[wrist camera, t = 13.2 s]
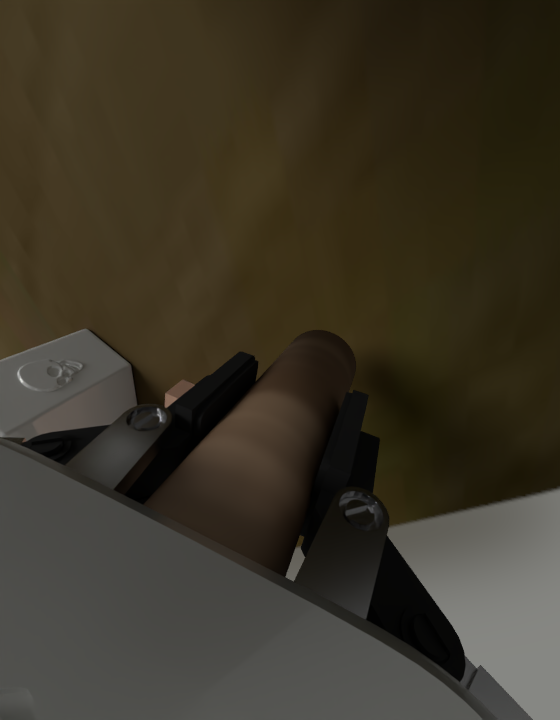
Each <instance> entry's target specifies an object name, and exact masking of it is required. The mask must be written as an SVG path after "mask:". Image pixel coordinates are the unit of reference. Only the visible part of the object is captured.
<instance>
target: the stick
mask: <svg viewBox="0 0 560 720" xmlns="http://www.w3.org/2000/svg"><path fill="white" fill-rule="evenodd" d="M355 371H356V361H355V357H354V354H353V352H352V350H351V348H350V347H349V345H348V344H347V343H346V342H345V341H344V340H343V339H342V338H340V337H339V336H337V335H335V334H333V333H331V332H328V331H323V330H313V331H308V332H305V333H303V334H301V335H299V336H298V337H297V338H296V339H295V340H294V341H293V342H292V343H291V344H290V345H289V346H288V347H287V348H286V349H285V350H284V352H283V353H282V354H281V355H280V356H279V357H278V358H277V359H276V360H275V361H274V362H273V364H272V365H271V366H270V367H269V368H268V369H267V370H266V371H265V372H264V373H263V374H262V376H261V377H260V378H259V379H258V380H257V381H256V382H255V383H254V384H253V385H252V386H251V388H250V389H249V390H248V391H247V392H246V393H245V394H244V395H243V396H242V397H241V398H240V400H239V401H238V402H237V403H236V404H235V405H234V406H233V407H232V408H231V409H230V410H229V411H228V413H227V414H226V415H225V416H224V417H223V418H222V419H221V420H220V421H219V422H218V423H217V425H216V426H215V427H214V428H213V429H212V430H211V431H210V432H209V433H208V434H207V435H206V437H205V438H204V439H203V440H202V441H201V442H200V443H199V444H198V445H197V446H196V447H195V449H194V450H193V451H192V452H191V453H190V454H189V455H188V456H187V457H186V458H185V459H184V460H183V462H182V463H181V464H180V465H179V466H178V467H177V468H176V469H175V470H174V471H173V472H172V474H171V475H170V476H169V477H168V478H167V479H166V480H165V481H164V482H163V483H162V484H161V486H160V487H159V488H158V489H157V490H156V491H155V492H154V493H153V494H152V495H151V496H150V498H149V499H148V500H147V501H146V502H145V503H144V504H143V505H144V506H146V507H148V508H150V509H152V510H154V511H156V512H158V513H160V514H162V515H164V516H166V517H168V518H170V519H172V520H174V521H176V522H178V523H180V524H182V525H184V526H186V527H188V528H190V529H192V530H194V531H196V532H198V533H200V534H202V535H204V536H206V537H207V538H209V539H211V540H213V541H215V542H217V543H219V544H221V545H223V546H225V547H227V548H229V549H231V550H233V551H235V552H237V553H239V554H241V555H243V556H245V557H247V558H249V559H251V560H252V561H254V562H256V563H258V564H260V565H262V566H264V567H266V568H268V569H270V570H272V571H274V572H276V573H278V574H280V575H282V576H284V577H285V576H286V573H287V570H288V568H289V565H290V562H291V559H292V556H293V553H294V550H295V547H296V544H297V541H298V538H299V536H300V533H301V530H302V527H303V524H304V521H305V518H306V515H307V512H308V509H309V506H310V502H311V492H312V489H313V486H314V483H315V480H316V477H317V474H318V471H319V468H320V465H321V462H322V459H323V456H324V453H325V450H326V448H327V445H328V442H329V439H330V436H331V434H332V431H333V428H334V425H335V422H336V420H337V417H338V414H339V411H340V409H341V406H342V403H343V400H344V397H345V395H346V392H349V390H350V387H351V384H352V381H353V378H354V375H355Z"/></svg>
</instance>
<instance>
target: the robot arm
mask: <svg viewBox="0 0 560 720" xmlns="http://www.w3.org/2000/svg"><path fill="white" fill-rule="evenodd" d="M257 369H258V361H256V360H255V357H254V356H253V355H250V354H247V353H244V352H241V351H240V352H239V353H237V354H236V355H235V356H234V357H232V358H231V359H230V360H229V361H227V362H226V363H225V364H224V365H223V366H221V367H220V368H219V369H218V370H216V371H215V372H214V373H213V374H211V375H208V376H206V377H204V378H203V379H202V380H201V381H199V382H198V383H197V384H196V385H194V386H193V387H192V388H191V389H189V390H188V391H187V392H186V393H184V394H183V395H182V396H181V397H179V398H178V399H177V400H176V401H174V402H173V403H172V404H171V405H169V406H168V407H167V408H166V407H163V406H161V405H157V404H142V405H137V406H135V407H132V408H130V409H129V410H127V411H126V412H124V413H123V414H122V415H121V416H120V417H119V418H118V419H116V420H115V421H114V422H113V423H112V424H110V425H103V426H95V427H87V428H79V429H72V430H64V431H56V432H49V433H45V434H41V435H38V436H36V437H33V438H31V439H29V440H28V441H26V439H25V438H18V437H0V720H533V719H532V718H531V717H530V716H529V715H528V714H527V713H526V712H525V711H524V710H523V709H522V708H521V707H520V706H519V705H518V704H517V703H516V701H515V700H514V699H513V698H512V697H511V696H510V695H509V694H508V693H507V692H506V691H505V690H504V689H503V688H502V687H501V686H500V685H499V684H498V683H497V682H496V681H495V679H494V678H493V677H492V676H491V675H490V674H489V673H488V672H487V671H486V670H485V669H484V668H483V667H482V666H481V665H480V666H479V667H478V668H476V667H475V666H474V665H473V664H472V663H471V662H470V661H469V660H468V659H467V657H465V655H464V650H463V647H462V644H461V642H460V639H459V637H458V635H457V633H456V632H455V630H454V628H453V627H452V625H451V624H450V622H449V621H448V619H447V618H446V617H445V615H444V614H443V613H442V611H441V610H440V609H439V607H438V606H437V605H436V603H435V601H434V600H433V599H432V597H431V596H430V594H429V593H428V592H427V590H426V589H425V588H424V586H423V585H422V583H421V582H420V581H419V579H418V578H417V576H416V575H415V574H414V572H413V571H412V570H411V568H410V567H409V565H408V564H407V563H406V561H405V560H404V558H403V557H402V556H401V554H400V553H399V552H398V550H397V549H396V547H395V546H394V545H393V543H392V542H391V540H390V539H389V538H388V536H387V532H388V528H389V515H388V512H387V509H386V508H385V506H384V504H383V503H382V502H381V501H380V500H379V499H378V498H377V497H376V496H375V495H374V494H373V487H374V479H375V472H376V464H377V457H378V449H379V442H380V439H379V438H378V437H375V436H373V435H370V434H367V433H364V432H362V431H361V427H362V422H363V418H364V414H365V409H366V405H367V400H368V396H369V395H367V394H364V393H361V392H358V391H355V390H353V393H349V392H346V395H345V397H344V400H343V403H342V406H341V409H340V411H339V414H338V417H337V420H336V422H335V425H334V428H333V431H332V434H331V436H330V439H329V442H328V445H327V448H326V450H325V453H324V456H323V459H322V462H321V465H320V468H319V471H318V474H317V477H316V480H315V483H314V486H313V489H312V492H311V502H310V506H309V509H308V512H307V515H306V518H305V521H304V524H303V527H302V530H301V533H300V535H301V536H304V540H303V543H302V546H301V550H302V552H303V554H304V556H305V559H304V562H303V564H302V566H301V568H300V570H299V572H298V574H297V576H296V578H295V580H294V582H293V581H291V580H289V579H287V578H286V577H284V576H282V575H280V574H278V573H276V572H274V571H272V570H270V569H268V568H266V567H264V566H262V565H260V564H258V563H256V562H254V561H252V560H251V559H249V558H247V557H245V556H243V555H241V554H239V553H237V552H235V551H233V550H231V549H229V548H227V547H225V546H223V545H221V544H219V543H217V542H215V541H213V540H211V539H209V538H207V537H206V536H204V535H202V534H200V533H198V532H196V531H194V530H192V529H190V528H188V527H186V526H184V525H182V524H180V523H178V522H176V521H174V520H172V519H170V518H168V517H166V516H164V515H162V514H160V513H158V512H156V511H154V510H152V509H150V508H148V507H146V506H144V505H143V504H144V503H145V502H146V501H147V500H148V499H149V498H150V496H151V495H152V494H153V493H154V492H155V491H156V490H157V489H158V488H159V487H160V486H161V484H162V483H163V482H164V481H165V480H166V479H167V478H168V477H169V476H170V475H171V474H172V472H173V471H174V470H175V469H176V468H177V467H178V466H179V465H180V464H181V463H182V462H183V460H184V459H185V458H186V457H187V456H188V455H189V454H190V453H191V452H192V451H193V450H194V449H195V447H196V446H197V445H198V444H199V443H200V442H201V441H202V440H203V439H204V438H205V437H206V435H207V434H208V433H209V432H210V431H211V430H212V429H213V428H214V427H215V426H216V425H217V423H218V422H219V421H220V420H221V419H222V418H223V417H224V416H225V415H226V414H227V413H228V411H229V410H230V409H231V408H232V407H233V406H234V405H235V404H236V403H237V402H238V401H239V400H240V398H241V397H242V396H243V395H244V394H245V393H246V392H247V391H248V390H249V389H250V388H251V386H252V385H253V384H254V383H255V381H256V375H257Z"/></svg>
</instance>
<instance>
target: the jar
mask: <svg viewBox="0 0 560 720" xmlns="http://www.w3.org/2000/svg"><path fill="white" fill-rule="evenodd" d="M135 406H137V399H136V393H135V387H134V380H133V374H132V368H131V364H130V363H128V362H127V361H126V360H125V359H124V358H122V357H121V356H120V355H119V354H117V353H116V352H115V351H114V350H113V349H111V348H110V347H109V346H108V345H106V344H105V343H104V342H103V341H102V340H100V339H99V338H98V337H97V336H95V335H94V334H93V333H92V332H91V331H89V330H88V329H83V330H80V331H77V332H75V333H72V334H69V335H67V336H64V337H61V338H59V339H56V340H53V341H50V342H48V343H45V344H42V345H40V346H37V347H34V348H32V349H29V350H26V351H23V352H21V353H18V354H15V355H13V356H10V357H7V358H5V359H2V360H0V437H18V438H25V439H26V441H28V440H29V439H31V438H33V437H36V436H38V435H41V434H45V433H49V432H56V431H64V430H72V429H79V428H87V427H95V426H103V425H110V424H112V423H113V422H114V421H115V420H116V419H118V418H119V417H120V416H121V415H122V414H123V413H124V412H126V411H127V410H129V409H130V408H132V407H135Z"/></svg>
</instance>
